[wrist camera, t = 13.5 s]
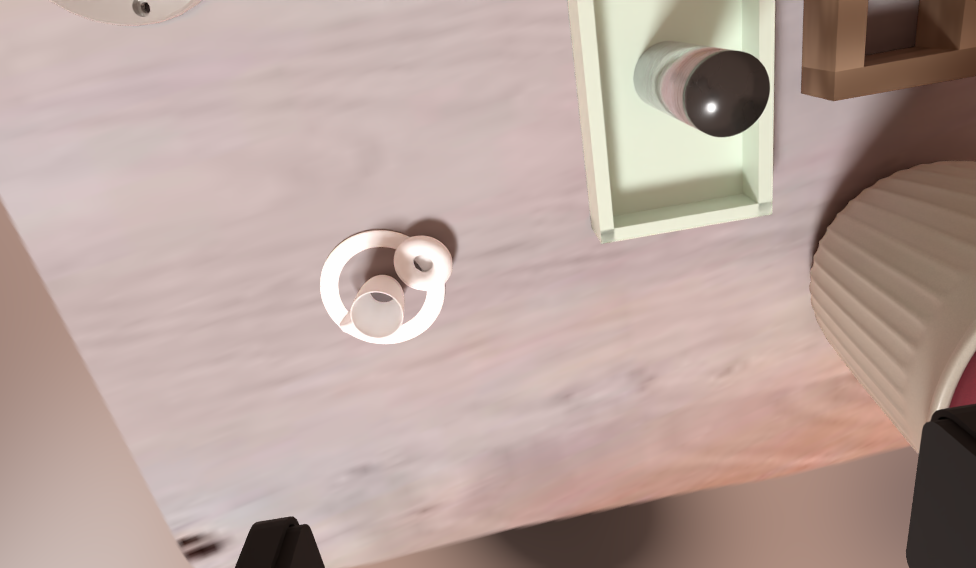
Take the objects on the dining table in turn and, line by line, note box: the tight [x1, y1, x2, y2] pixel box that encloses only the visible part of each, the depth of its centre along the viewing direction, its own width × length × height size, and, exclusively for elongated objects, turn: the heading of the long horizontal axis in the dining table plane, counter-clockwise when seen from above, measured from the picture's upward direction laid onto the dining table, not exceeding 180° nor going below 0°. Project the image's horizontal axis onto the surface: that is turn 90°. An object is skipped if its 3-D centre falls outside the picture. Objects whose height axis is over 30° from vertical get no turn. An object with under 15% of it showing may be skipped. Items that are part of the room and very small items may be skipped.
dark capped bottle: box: [633, 41, 770, 137], centre depth 31 cm, size 4×4×9 cm
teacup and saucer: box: [320, 230, 453, 344], centre depth 39 cm, size 9×8×4 cm
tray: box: [567, 0, 775, 244], centre depth 35 cm, size 17×10×3 cm, turn 9°
